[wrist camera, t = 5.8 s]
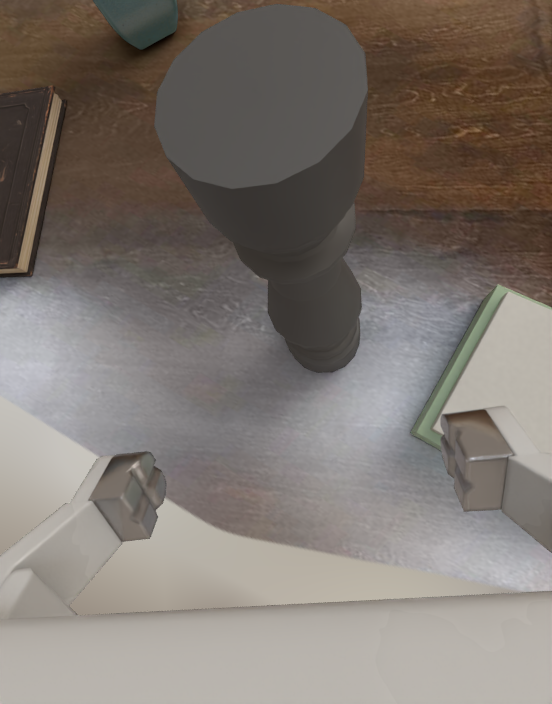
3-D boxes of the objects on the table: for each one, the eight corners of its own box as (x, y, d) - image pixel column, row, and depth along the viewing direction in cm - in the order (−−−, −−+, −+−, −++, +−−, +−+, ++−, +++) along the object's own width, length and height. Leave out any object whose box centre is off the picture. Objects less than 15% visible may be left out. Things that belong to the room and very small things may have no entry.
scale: (572, 526, 27) (609, 540, 23) (409, 433, 31) (418, 432, 27) (649, 371, 28) (696, 360, 24) (484, 298, 32) (502, 278, 28)
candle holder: (374, 345, 33) (435, 90, 9) (315, 387, 33) (217, 246, 9) (332, 292, 34) (287, -41, 11) (276, 332, 35) (108, 92, 11)
